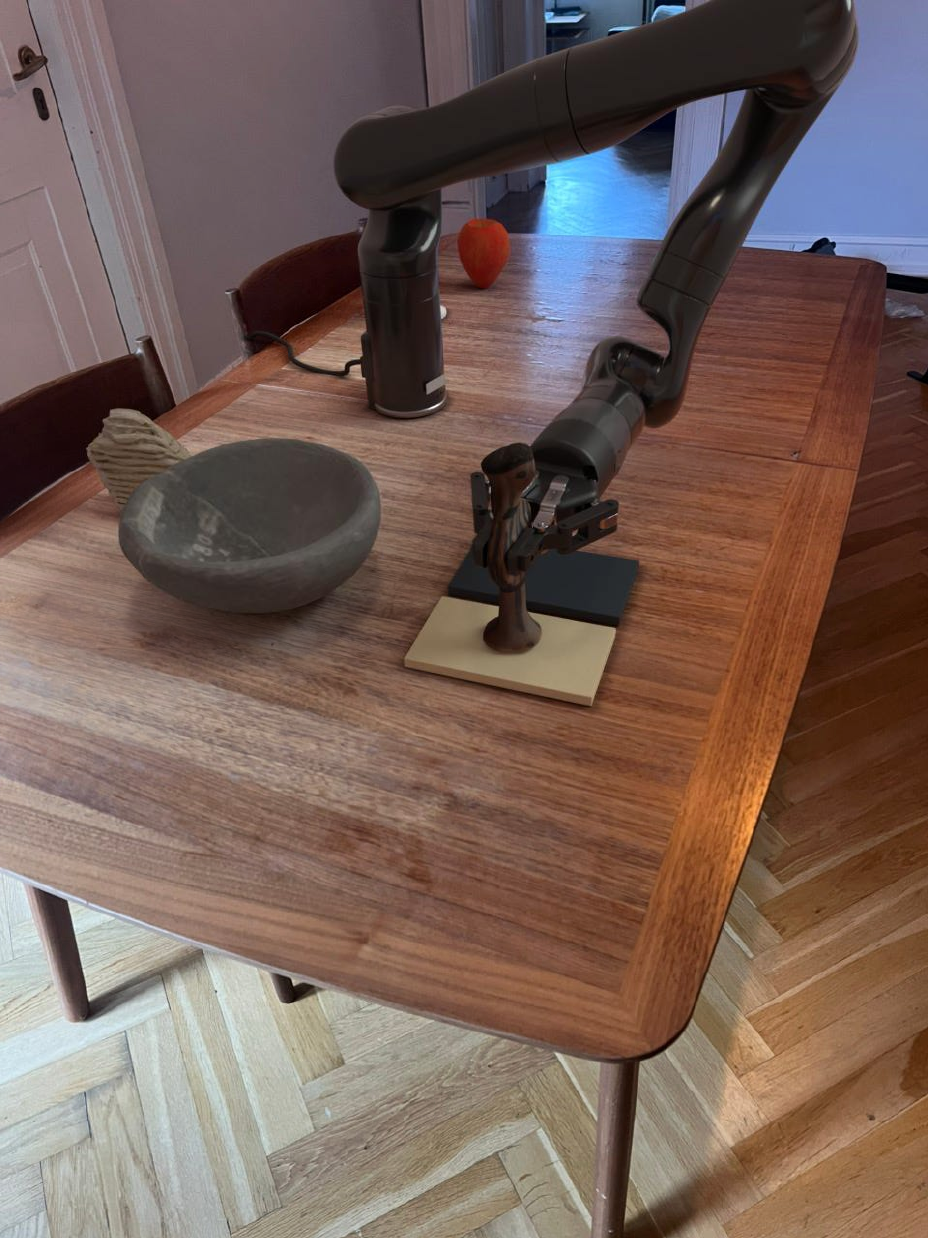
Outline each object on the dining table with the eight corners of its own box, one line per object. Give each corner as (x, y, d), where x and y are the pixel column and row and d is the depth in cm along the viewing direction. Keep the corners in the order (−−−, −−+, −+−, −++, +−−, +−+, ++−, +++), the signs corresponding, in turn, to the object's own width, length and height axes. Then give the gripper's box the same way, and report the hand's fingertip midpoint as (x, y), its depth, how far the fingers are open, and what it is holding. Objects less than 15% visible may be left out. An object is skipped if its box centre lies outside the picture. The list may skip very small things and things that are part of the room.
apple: (519, 282, 149) (519, 214, 142) (493, 298, 144) (492, 227, 137) (476, 275, 153) (474, 208, 146) (449, 290, 148) (445, 221, 141)
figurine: (523, 673, 71) (522, 478, 60) (466, 659, 73) (454, 467, 61) (552, 617, 77) (556, 429, 65) (497, 606, 78) (492, 420, 67)
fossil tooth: (212, 540, 93) (88, 511, 96) (240, 507, 98) (121, 480, 100) (193, 446, 85) (58, 417, 88) (225, 414, 90) (95, 388, 93)
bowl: (280, 694, 72) (257, 598, 66) (97, 612, 82) (61, 520, 76) (435, 554, 87) (428, 463, 81) (264, 497, 97) (246, 413, 91)
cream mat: (404, 667, 74) (403, 658, 74) (442, 604, 81) (441, 595, 80) (591, 706, 70) (591, 697, 69) (615, 636, 76) (616, 627, 76)
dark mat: (448, 594, 82) (447, 586, 81) (479, 542, 89) (479, 534, 88) (618, 626, 77) (619, 617, 77) (638, 568, 84) (639, 560, 83)
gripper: (504, 404, 78) (410, 501, 66) (657, 430, 73) (584, 540, 61) (506, 478, 83) (418, 580, 71) (649, 508, 78) (580, 623, 66)
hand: (496, 561), depth 66 cm, fingers closed on figurine
